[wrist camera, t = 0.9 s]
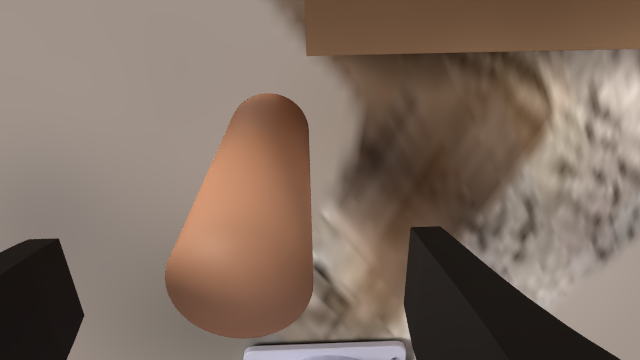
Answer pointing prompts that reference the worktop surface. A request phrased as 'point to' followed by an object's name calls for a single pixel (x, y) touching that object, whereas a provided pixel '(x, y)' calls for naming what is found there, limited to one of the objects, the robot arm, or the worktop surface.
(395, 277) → the worktop surface
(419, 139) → the worktop surface
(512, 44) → the walnut stand
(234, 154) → the peg
